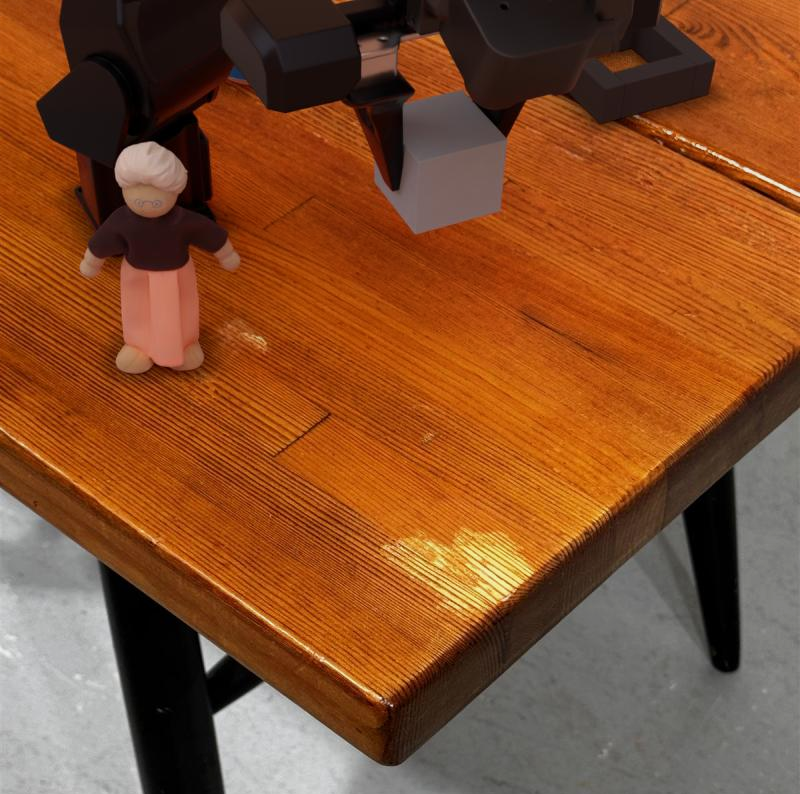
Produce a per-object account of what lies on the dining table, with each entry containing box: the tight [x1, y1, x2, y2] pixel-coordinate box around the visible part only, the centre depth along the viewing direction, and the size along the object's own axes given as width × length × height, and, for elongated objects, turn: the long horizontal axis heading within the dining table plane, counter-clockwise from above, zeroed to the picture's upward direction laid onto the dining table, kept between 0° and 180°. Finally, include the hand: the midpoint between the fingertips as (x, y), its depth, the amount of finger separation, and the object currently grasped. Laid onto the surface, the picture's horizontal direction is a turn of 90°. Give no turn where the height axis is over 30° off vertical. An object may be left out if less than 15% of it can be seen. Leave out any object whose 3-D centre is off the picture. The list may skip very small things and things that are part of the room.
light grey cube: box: [373, 89, 508, 235], centre depth 68 cm, size 4×4×4 cm
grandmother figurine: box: [79, 142, 241, 375], centre depth 71 cm, size 8×4×13 cm, turn 106°
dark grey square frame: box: [567, 13, 717, 124], centre depth 94 cm, size 8×8×2 cm
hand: (437, 174), depth 68 cm, fingers closed on light grey cube, 4 cm apart
